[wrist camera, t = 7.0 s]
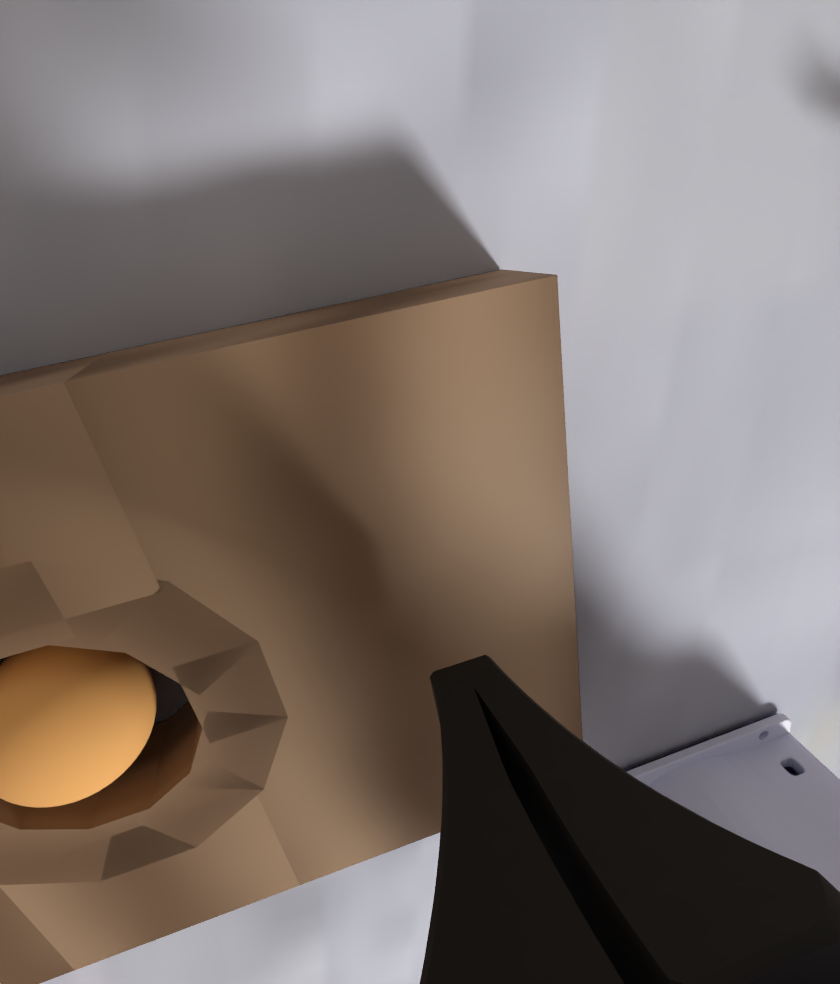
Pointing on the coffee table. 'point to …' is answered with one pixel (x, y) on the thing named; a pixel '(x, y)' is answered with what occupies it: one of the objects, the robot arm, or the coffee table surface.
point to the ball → (70, 722)
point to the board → (280, 590)
